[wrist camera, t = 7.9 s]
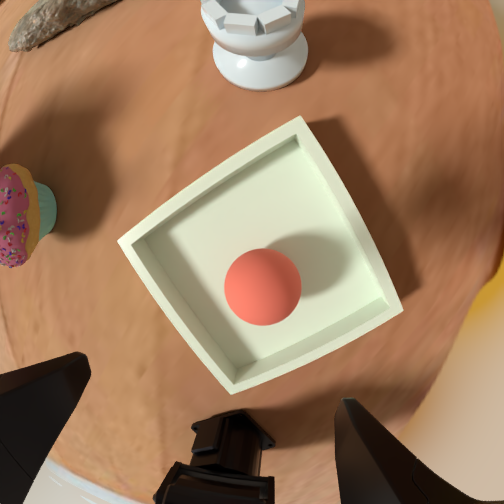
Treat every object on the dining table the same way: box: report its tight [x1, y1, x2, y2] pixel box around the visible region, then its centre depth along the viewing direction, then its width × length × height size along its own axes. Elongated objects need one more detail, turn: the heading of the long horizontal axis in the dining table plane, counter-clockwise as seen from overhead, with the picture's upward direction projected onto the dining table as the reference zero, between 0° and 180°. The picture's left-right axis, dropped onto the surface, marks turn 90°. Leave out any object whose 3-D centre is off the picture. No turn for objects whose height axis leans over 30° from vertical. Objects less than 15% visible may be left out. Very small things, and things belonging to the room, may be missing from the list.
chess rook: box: [200, 0, 308, 92], centre depth 12 cm, size 6×6×8 cm
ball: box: [224, 248, 302, 326], centre depth 16 cm, size 5×5×5 cm
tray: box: [117, 116, 404, 395], centre depth 18 cm, size 14×14×3 cm
